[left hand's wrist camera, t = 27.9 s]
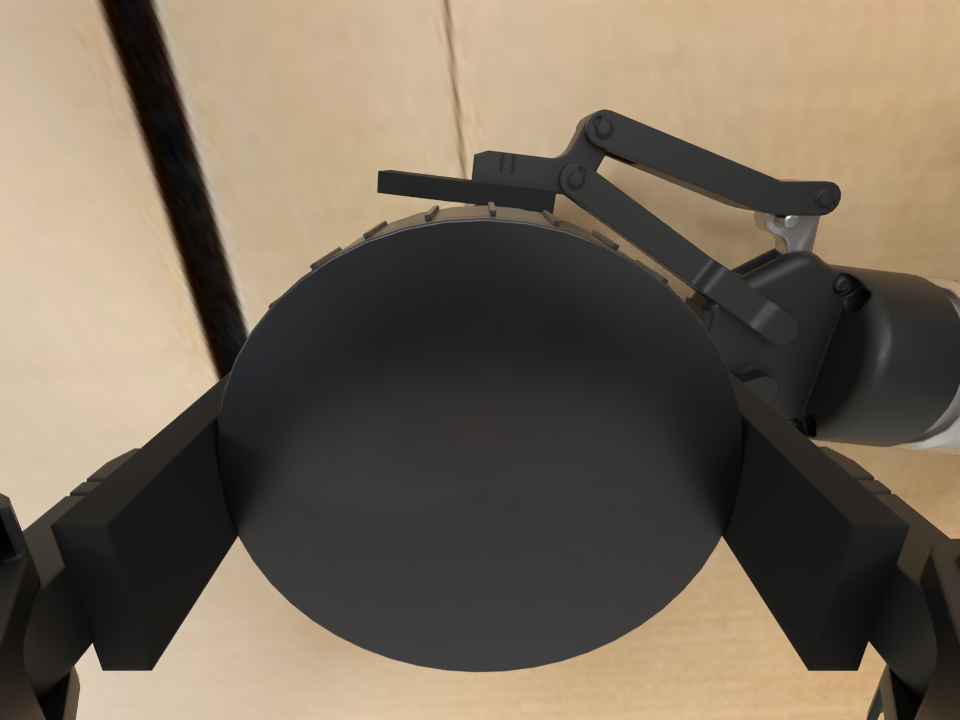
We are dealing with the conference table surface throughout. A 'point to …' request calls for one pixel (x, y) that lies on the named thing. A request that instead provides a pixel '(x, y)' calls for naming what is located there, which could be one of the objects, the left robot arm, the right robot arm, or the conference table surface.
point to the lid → (480, 441)
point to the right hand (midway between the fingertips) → (378, 302)
